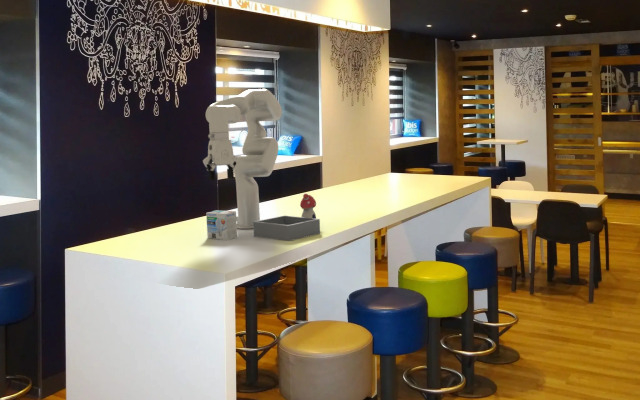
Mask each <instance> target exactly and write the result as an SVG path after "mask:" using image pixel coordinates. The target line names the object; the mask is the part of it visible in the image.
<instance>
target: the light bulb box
mask: <svg viewBox="0 0 640 400" xmlns="http://www.w3.org/2000/svg"><path fill="white" fill-rule="evenodd" d="M205 214H206V231H207V232H206V235H207V239H211V238H213V239H212V240H221V241H222V240H223V241H229V240H233V239H236V238H238V228H237V221H236V217H237V212H236V211H235V210H233V211H232V210H218V209H217V210H212V211H209V212H206V213H205Z"/></svg>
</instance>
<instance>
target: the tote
mask: <svg viewBox="0 0 640 400" xmlns="http://www.w3.org/2000/svg"><path fill="white" fill-rule="evenodd" d="M253 226H254V228H253V237H255V238H256V237H258V238H263V239H264V238H265V239H274V240H278V241H288V242H290V241H294V240H299V239H303V238H306V237H307V238H308V237H311V236H316V235H320V234H321V219H320V218H316V219H315V218H305V217H301V216H295V215H285V214H284V215H280V216H275V217H270V218H266V219H260V220H259V221H254V222H253Z"/></svg>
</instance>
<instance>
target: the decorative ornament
mask: <svg viewBox="0 0 640 400" xmlns="http://www.w3.org/2000/svg"><path fill="white" fill-rule="evenodd" d="M299 206H300V208H301V209H302V213H301V216H300V217H305V218H315V219H317V216H316V213H315V210H314V208H316V207H317V201H316V200H315V198H314V197H313V196H312V195H310V194H309V193H303V195H302V199H301V201H300V204H299Z"/></svg>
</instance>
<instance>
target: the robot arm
mask: <svg viewBox="0 0 640 400" xmlns="http://www.w3.org/2000/svg"><path fill="white" fill-rule="evenodd" d="M282 115H283V110H282V107H281V104H280V102H279V101H278V99H277V98H276V97H275V95H274V94H273V93H272V91H270V90H269V89H266V88H262V89H261V88H258V89H257V88H256V89H247V90H244V91H242V92H241V93H239V94H237V95H236V96H233V97H229V98H226V99H222V100H219V101H216V102H214V103H212V104H210V105H209V106H207V109H206V111H205V119H206V121H207V122H208V123H209V124H208V126H209V127H208V128H209V134H208V135H207V137H208V139H209V141H208V146H207V149H208V150H207V156H206V157H205V158H203V160H202V163H203V165H204V168H206V171H208V180H209V181H210V182H214V181H216V170H215V168H216V167H217V166H226V167H227V168H226V175H227V179H230V180H233V179H235V187H236V188H235V189H236V203H237V205H236V206H237V215H236V221H237V229H240V230H244V229H245V230H246V229H248V230H250V229H251V230H252V229H254V226H253V222H254V221H259V220H261V218H260V217H261V214H260V213H261V212H260V197H259V195H260V193H259V185H258V183H257V181H256V180H255V179H254V178H255V177H256V178H258V177H259V178H261V177H262V178H263V177H264V178H265V177H269V176H270V175H272V172H273V170H274V167H275V164H276V161H277V157H278V155H279V142H278V140H277V139H276V138H275V137H272V136H267V133H268V132H267V131H266V129H265V127H264V126H263V125H262V124H261V123H260V122H276V121H278V120H279V121H280V119H281V117H282ZM242 116H245V121H246V126H247V133H246V136H245V139H244V143H243V146H242V151H241V152H242V154H241V155H238V156H236V155H234V149H233V144H232V140H231V139H230V138H229V137H230V135H229V133H230V132H229V131H230V130H229V124H233V125H234V124H236V123H238V122H239V121H240V120H241V117H242Z"/></svg>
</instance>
